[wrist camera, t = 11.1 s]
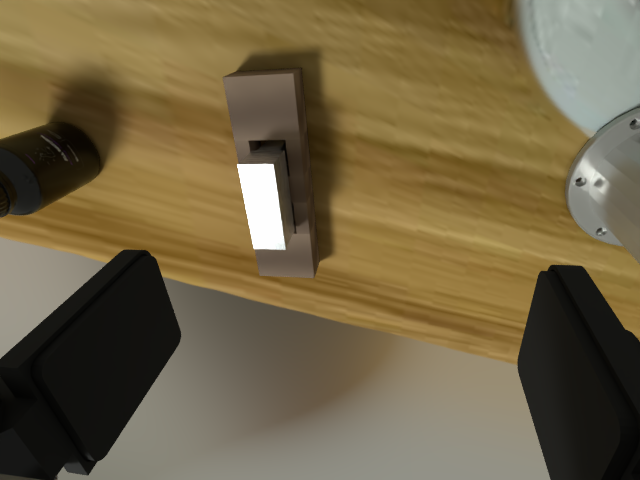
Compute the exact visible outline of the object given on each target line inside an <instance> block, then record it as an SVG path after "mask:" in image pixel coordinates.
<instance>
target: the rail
mask: <svg viewBox="0 0 640 480" xmlns="http://www.w3.org/2000/svg"><path fill="white" fill-rule="evenodd" d="M223 82H224V88H225V93H226V98H227V104H228V109H229V114H230V120H231V125H232V130H233V136H234V141H235V146H236V152H237V157H238V162H239V163H240V162H241V161H242V160H243V159H244V158H245V157H246V156H247V155H248V154H249V153H250V152H251V151H257V150H258V149H259V148H260V147H261V142H260V140H286V149H287V157H288V165H286V166H287V174H288V181H289V189H290V197H291V203H293V206H294V214H295V221H294V229H295V231H294V233H293V235H292V237H291V240H290V242H289V244H288V246H287V248H286V250H276V249H255V253H256V258H257V264H258V269H259V274H260V275H261V276H282V277H304V278H314V277H315V274H316V271H317V268H318V265H319V252H318V241H317V230H316V220H315V209H314V198H313V187H312V176H311V165H310V155H309V144H308V133H307V122H306V111H305V100H304V90H303V79H302V68H290V69H273V70H256V71H239V72H234V73H231V74H229V75H227V76H224V77H223Z"/></svg>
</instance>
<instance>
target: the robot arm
mask: <svg viewBox="0 0 640 480" xmlns="http://www.w3.org/2000/svg"><path fill="white" fill-rule="evenodd" d="M633 120H634V122H633V123H631V121H633ZM630 123H631V124H630ZM578 178H579V179H578ZM576 179H578V180H576ZM565 197H566V203H567V207H568V209H569V211H570V214H571V216H572V217H573V218H574V220H575V221H576V223H577V224H578V225H579V226H580V227H581V228H582V229H583V230H584V231H585V232H586V233H587V234H589V235H590V236H592V237H593V238H595V239H597V240H600V241H603V242H605V243H608V244H613V245H618V246H624V247H625V248H626V249H627V251H628V252H629V253H630V254H631V255H632V256H633V257H634V258H635V260H636V261H637V262H638V263H639V264H640V108H637V109H634V110H632V111H630V112H628V113H626V114H624V115H622V116H620V117H618V118H616V119H615V120H613V121H612V122H610V123H609V124H607V125H606V126H605V127H603V128H602V129H600V130H599V131H598V132H597V133H596V134H595V135H594V136H593V137H592V138H591V139H590V140H589V141H588V142H587V143H586V144H585V145H584V147H583V148H582V149H581V151H580V152H579V153H578V154H577V156H576V158H575V160H574V162H573V164H572V165H571V167H570V170H569V173H568V176H567V180H566V188H565ZM180 339H181V331H180V328H179V325H178V322H177V319H176V316H175V313H174V310H173V308H172V304H171V302H170V298H169V295H168V293H167V290H166V287H165V284H164V281H163V278H162V275H161V272H160V269H159V266H158V263H157V261H156V259H155V257H153V256H151V254H150V253H149V252H148V251H146V250H123V251H121V252H120V253H119V254H118V255H116V256H115V257H114V258H113V259H112V260H111V261H110V262H109V263H107V264H106V265H105V266H104V267H103V268H102V269H101V270H100V271H99V272H98V273H96V274H95V275H94V276H93V277H92V278H91V279H90V280H89V281H88V282H86V283H85V284H84V285H83V286H82V287H81V288H79V289H78V290H77V291H76V292H75V293H74V294H73V295H72V296H70V297H69V298H68V299H67V300H66V301H65V302H64V303H63V304H61V305H60V306H59V307H58V308H57V309H56V310H55V311H54V312H53V313H51V314H50V315H49V316H48V317H47V318H46V319H45V320H43V321H42V322H41V323H40V324H39V325H38V326H37V327H36V328H34V329H33V330H32V331H31V332H30V333H29V334H28V335H27V336H25V337H24V338H23V339H22V340H21V341H20V342H19V343H18V344H16V345H15V346H14V347H13V348H12V349H11V350H10V351H9V352H8V353H6V354H5V355H4V356H3V357H2V358H1V359H0V480H57V478H58V477H57V474H58V473H59V471H60V470H61V469H62V467H63V466H64V468H65V469H66V471H67V472H70V473H76V474H82V475H89V473H90V472H91V470H92V469H93V467H94V466H95V464H96V463H97V461H100V460H102V459H103V458H104V457H105V456H106V455H107V453H108V452H109V450H110V449H111V447H112V446H113V444H114V443H115V441H116V440H117V438H118V437H119V435H120V433H121V432H122V430H123V429H124V427H125V426H126V424H127V423H128V421H129V420H130V418H131V417H132V415H133V414H134V412H135V411H136V409H137V408H138V406H139V404H140V403H141V401H142V400H143V398H144V397H145V395H146V394H147V392H148V391H149V389H150V388H151V386H152V384H153V383H154V382H155V380H156V378H157V377H158V375H159V374H160V372H161V371H162V369H163V368H164V366H165V365H166V363H167V362H168V360H169V359H170V357H171V356H172V354H173V353H174V351H175V349H176V348H177V346H178V345H179V342H180ZM518 373H519V376H520V380H521V383H522V386H523V390H524V393H525V396H526V399H527V403H528V406H529V409H530V413H531V416H532V419H533V423H534V426H535V429H536V433H537V436H538V439H539V442H540V445H541V449H542V452H543V456H544V459H545V462H546V466H547V469H548V472H549V475H550V479H551V480H640V342H639V340H638V339H637V338H636V337H635V335H634V334H633V333H632V332H630V331H628V330H625V329H624V327H623V325H622V324H621V322H620V321H619V319H618V318H617V316H616V315H615V313H614V312H613V310H612V309H611V307H610V306H609V304H608V303H607V301H606V300H605V298H604V297H603V295H602V294H601V292H600V291H599V289H598V288H597V286H596V285H595V283H594V282H593V280H592V279H591V277H590V276H589V274H588V273H587V271H586V270H585V269H584V268H583V267H582V266H573V265H551V266H550V267H549V269H548V271H541V272H540V273H539V275H538V279H537V283H536V287H535V291H534V295H533V299H532V303H531V307H530V311H529V315H528V319H527V323H526V327H525V331H524V335H523V339H522V344H521V348H520V352H519V356H518Z"/></svg>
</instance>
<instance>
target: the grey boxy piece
mask: <svg viewBox="0 0 640 480" xmlns="http://www.w3.org/2000/svg"><path fill="white" fill-rule="evenodd" d="M287 164H288V157H287V149H286V140H267V141H266V142H265V143H264V144H263V145H262V146H261V147H260V148H259V149H258V150H257V151H251V152H250V153H249V154H248V155H247V156H246V157H245V158H244V159H243V160H242V161H241V162H240V163H239V164H238V169H239V174H240V180H241V185H242V190H243V195H244V200H245V206H246V211H247V216H248V221H249V226H250V232H251V237H252V242H253V247H254V249H276V250H286V248H287V246H288V244H289V242H290V240H291V237H292V235H293V233H294V231H295V229H294V221H295V214H294V206H293V203H291V197H290V189H289V181H288V174H287V166H286V165H287Z"/></svg>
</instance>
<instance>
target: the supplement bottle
mask: <svg viewBox="0 0 640 480" xmlns="http://www.w3.org/2000/svg"><path fill="white" fill-rule="evenodd" d="M99 167H100V160H99V155H98V152H97V150H96V148H95V146H94V144H93V143H92V141H91V140H90V139H89V137H88V136H87V135H86V134H85V133H83V132H82V131H81V130H80V129H78V128H76V127H75V126H73V125H70V124H67V123H63V122H53V123H49V124H46V125H42V126H39V127H36V128H33V129H30V130H27V131H24V132H21V133H18V134H15V135H12V136H9V137H6V138H2V139H0V217H4V216H6V215H8V214H12V215H29V214H32V213H34V212H37V211H39V210H40V209H42V208H44V207H46V206H48V205H50V204H51V203H53V202H55V201H57V200H59V199H60V198H62V197H64V196H66V195H68V194H69V193H71V192H73V191H75V190H77V189H79V188H80V187H82V186H84V185H86V184H87V183H89V182H91V181H92V180H93V179H94V178H95V177H96V176H97V174H98V171H99Z"/></svg>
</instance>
